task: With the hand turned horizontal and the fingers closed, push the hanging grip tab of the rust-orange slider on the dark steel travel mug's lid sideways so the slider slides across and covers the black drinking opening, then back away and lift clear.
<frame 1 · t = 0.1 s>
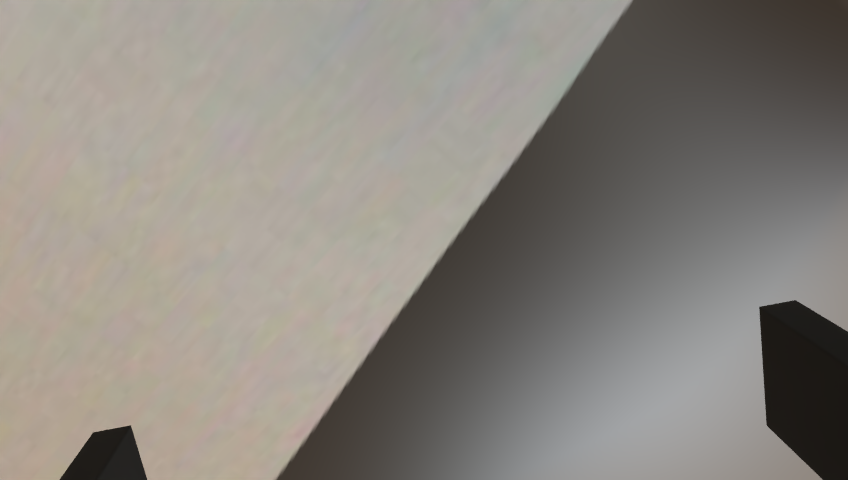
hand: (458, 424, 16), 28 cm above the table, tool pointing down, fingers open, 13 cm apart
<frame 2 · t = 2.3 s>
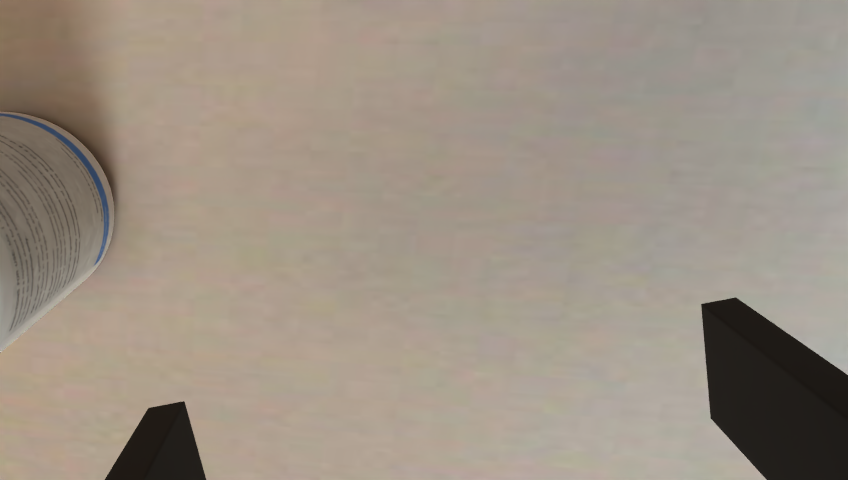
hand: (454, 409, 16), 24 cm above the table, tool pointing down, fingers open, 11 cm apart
supplement tub: (25, 206, 39), on the table
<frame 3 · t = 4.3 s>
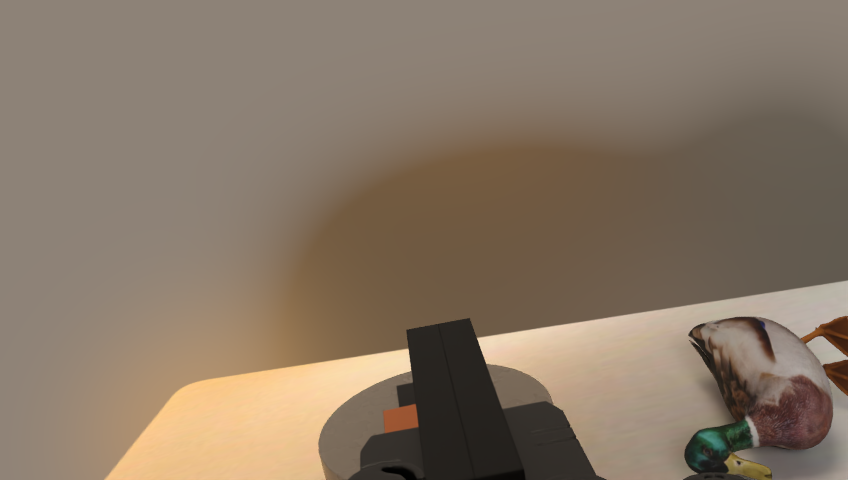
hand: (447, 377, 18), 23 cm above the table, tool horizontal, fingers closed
decorative duck model: (738, 436, 53), on the table
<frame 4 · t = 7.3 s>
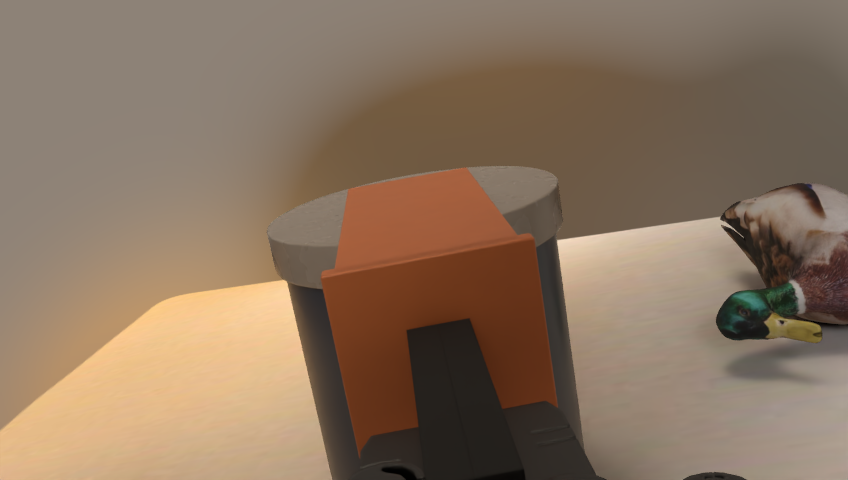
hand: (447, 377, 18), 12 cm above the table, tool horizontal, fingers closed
decorative duck model: (777, 320, 46), on the table
lid slider: (428, 284, 23), point 12 cm above the table, slide at 0.1 cm, touching gripper
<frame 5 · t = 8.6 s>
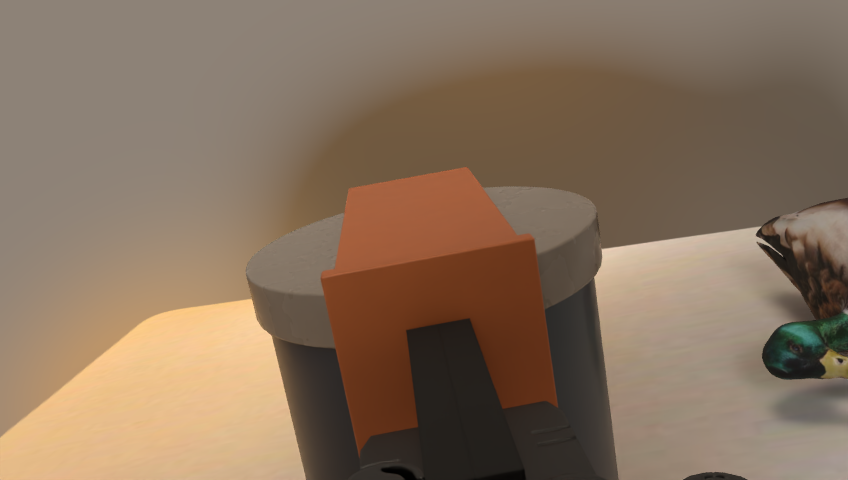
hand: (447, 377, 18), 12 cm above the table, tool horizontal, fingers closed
decorative duck model: (824, 350, 41), on the table
lid slider: (429, 284, 23), point 12 cm above the table, slide at 4.8 cm, touching gripper, travel mug
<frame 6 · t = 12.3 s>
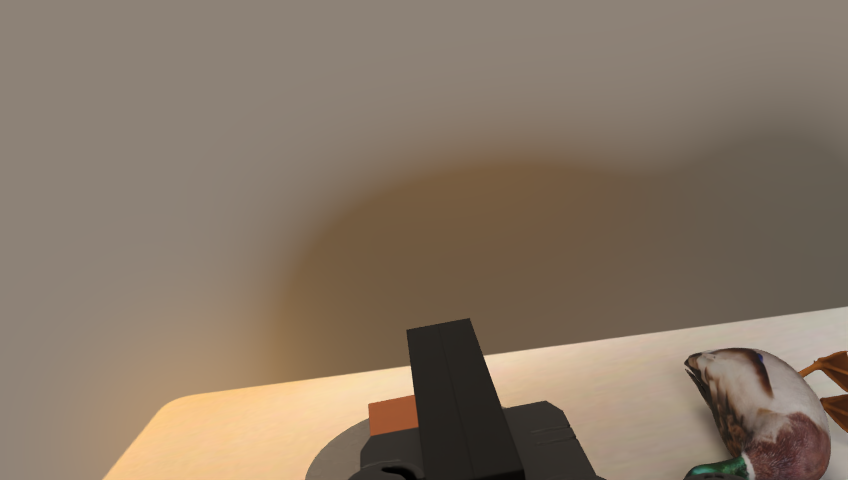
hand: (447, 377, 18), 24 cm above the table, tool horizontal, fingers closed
decorative duck model: (733, 470, 52), on the table
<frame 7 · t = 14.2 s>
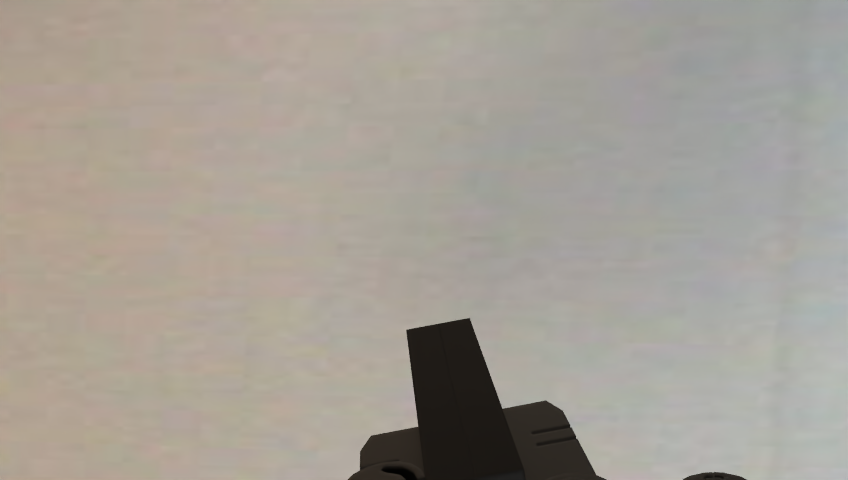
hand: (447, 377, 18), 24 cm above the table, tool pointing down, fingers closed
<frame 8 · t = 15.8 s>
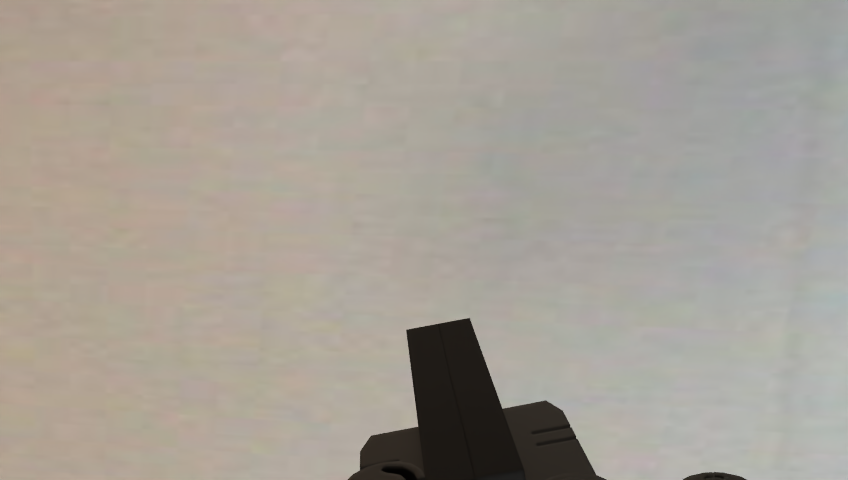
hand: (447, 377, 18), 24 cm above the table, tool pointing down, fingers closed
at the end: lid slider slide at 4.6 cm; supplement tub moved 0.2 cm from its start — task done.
